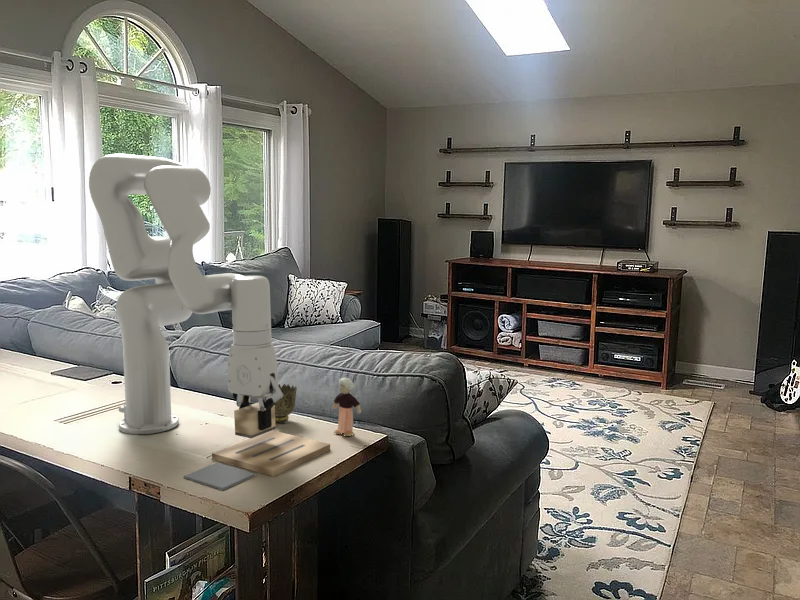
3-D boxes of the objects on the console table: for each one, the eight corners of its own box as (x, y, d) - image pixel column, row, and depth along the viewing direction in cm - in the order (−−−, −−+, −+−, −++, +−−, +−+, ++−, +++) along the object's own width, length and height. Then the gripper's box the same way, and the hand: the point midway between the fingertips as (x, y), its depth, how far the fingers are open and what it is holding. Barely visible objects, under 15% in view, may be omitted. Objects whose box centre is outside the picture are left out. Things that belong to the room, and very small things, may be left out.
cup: (290, 427, 156) (289, 392, 155) (259, 425, 158) (258, 390, 157) (301, 417, 164) (301, 384, 162) (271, 415, 165) (271, 382, 164)
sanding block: (235, 434, 140) (234, 410, 139) (259, 425, 145) (258, 402, 145) (251, 438, 137) (250, 413, 137) (275, 428, 143) (274, 405, 142)
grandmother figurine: (326, 434, 152) (326, 377, 150) (334, 429, 155) (334, 374, 154) (357, 439, 149) (357, 381, 147) (365, 434, 152) (366, 377, 151)
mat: (183, 477, 127) (183, 475, 127) (216, 464, 134) (216, 462, 134) (222, 490, 122) (222, 488, 122) (255, 475, 129) (255, 473, 128)
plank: (211, 458, 137) (211, 453, 136) (271, 435, 151) (271, 429, 151) (273, 476, 128) (272, 470, 128) (330, 449, 142) (330, 444, 142)
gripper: (208, 337, 140) (212, 425, 143) (271, 344, 131) (274, 438, 134) (235, 331, 147) (239, 416, 149) (297, 338, 138) (299, 428, 140)
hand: (255, 425), depth 141 cm, fingers closed on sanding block, 4 cm apart
